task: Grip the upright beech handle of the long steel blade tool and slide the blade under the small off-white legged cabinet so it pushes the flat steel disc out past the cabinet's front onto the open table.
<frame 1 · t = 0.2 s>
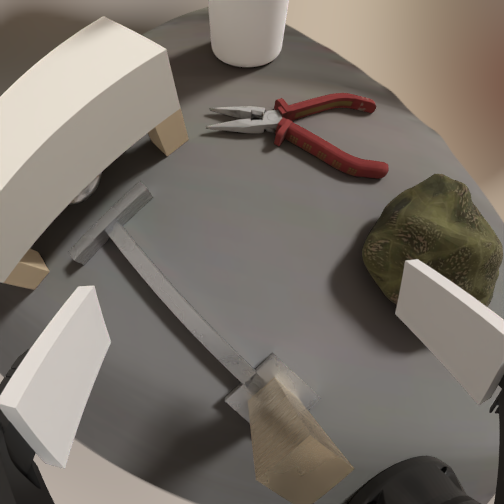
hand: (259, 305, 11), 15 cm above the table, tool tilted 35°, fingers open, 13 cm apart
decorative rock: (422, 267, 28), on the table
wine bottle: (246, 50, 34), on the table
cabinet: (79, 179, 28), on the table
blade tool: (272, 396, 25), on the table
pliers: (306, 123, 32), on the table
steel disc: (80, 181, 29), on the table
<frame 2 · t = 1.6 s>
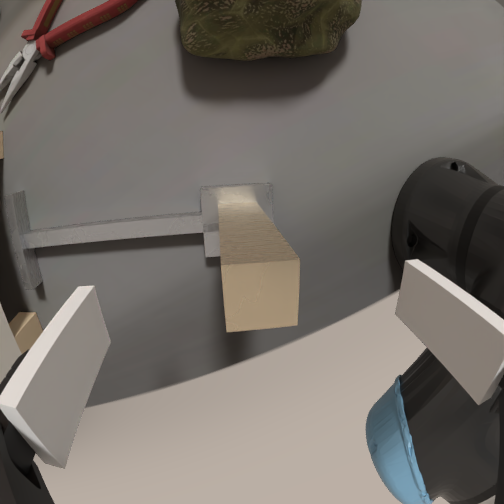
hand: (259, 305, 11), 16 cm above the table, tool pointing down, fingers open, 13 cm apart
decorative rock: (264, 9, 20), on the table
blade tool: (236, 217, 26), on the table
pliers: (60, 18, 17), on the table
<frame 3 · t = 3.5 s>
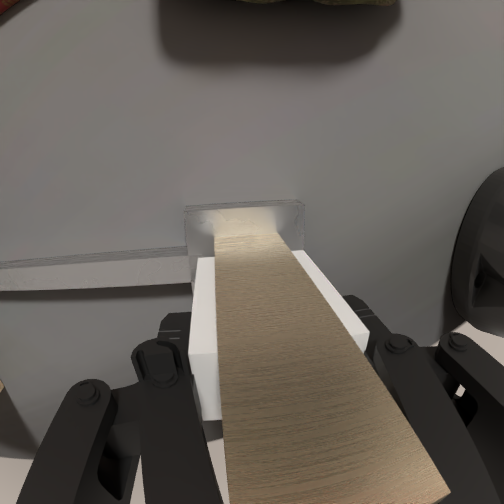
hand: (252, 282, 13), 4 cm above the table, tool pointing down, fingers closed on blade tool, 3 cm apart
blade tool: (244, 254, 17), on the table, touching gripper
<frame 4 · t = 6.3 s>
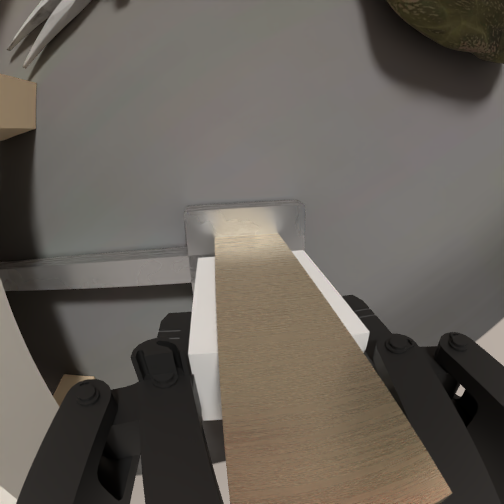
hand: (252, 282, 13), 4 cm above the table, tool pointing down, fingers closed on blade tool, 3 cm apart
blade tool: (244, 255, 17), on the table, touching gripper
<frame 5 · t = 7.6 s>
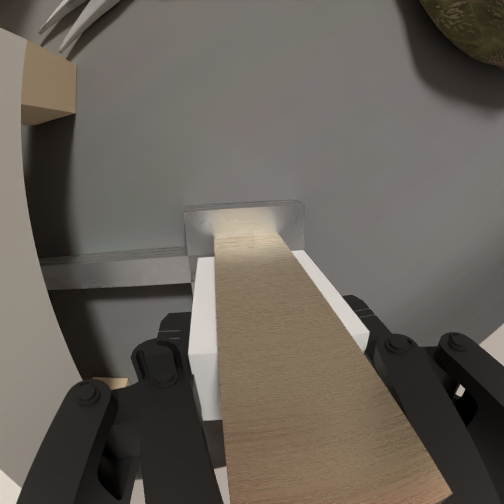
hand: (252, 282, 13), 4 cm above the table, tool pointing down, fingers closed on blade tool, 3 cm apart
decorative rock: (462, 6, 12), on the table
cabinet: (22, 270, 15), on the table
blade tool: (244, 255, 17), on the table, touching gripper
when the fingers open (4 cm above the table, at t = 8.4 s): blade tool stays where it is, on the table.
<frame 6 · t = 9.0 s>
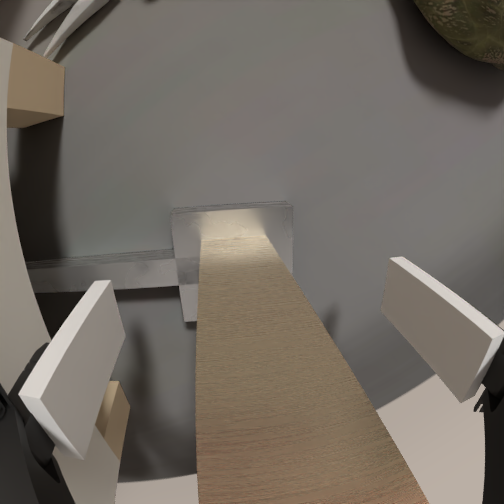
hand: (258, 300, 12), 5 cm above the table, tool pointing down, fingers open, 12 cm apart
decorative rock: (456, 3, 12), on the table
cabinet: (13, 273, 15), on the table
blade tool: (233, 257, 16), on the table
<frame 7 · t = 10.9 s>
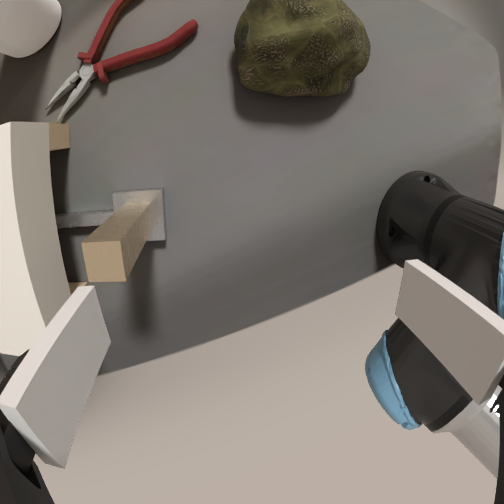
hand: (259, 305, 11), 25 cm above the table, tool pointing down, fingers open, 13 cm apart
decorative rock: (296, 51, 29), on the table
wine bottle: (35, 28, 21), on the table
cabinet: (39, 221, 31), on the table
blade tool: (140, 213, 34), on the table
pliers: (111, 44, 26), on the table
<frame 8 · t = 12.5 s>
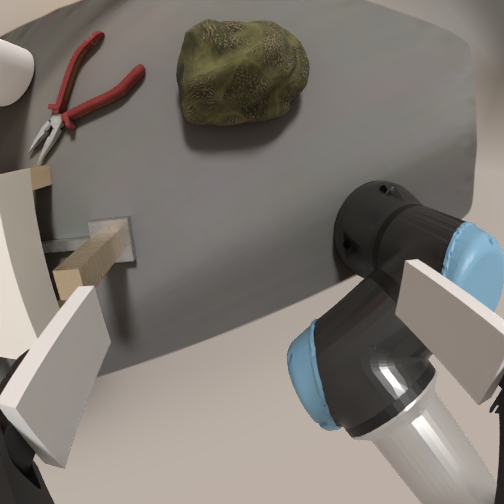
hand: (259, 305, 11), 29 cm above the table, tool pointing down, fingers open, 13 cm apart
decorative rock: (240, 78, 33), on the table
wine bottle: (15, 78, 27), on the table
cabinet: (33, 246, 37), on the table
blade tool: (113, 238, 38), on the table
pliers: (75, 92, 31), on the table
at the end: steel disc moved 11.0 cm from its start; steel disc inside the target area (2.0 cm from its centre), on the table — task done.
